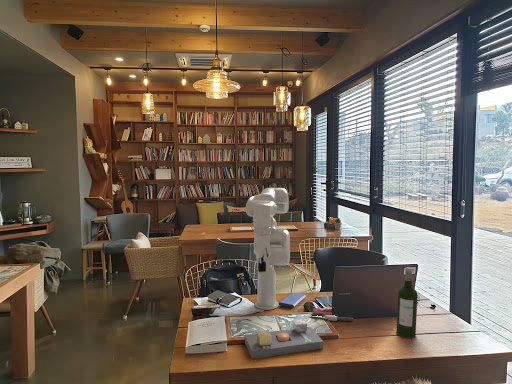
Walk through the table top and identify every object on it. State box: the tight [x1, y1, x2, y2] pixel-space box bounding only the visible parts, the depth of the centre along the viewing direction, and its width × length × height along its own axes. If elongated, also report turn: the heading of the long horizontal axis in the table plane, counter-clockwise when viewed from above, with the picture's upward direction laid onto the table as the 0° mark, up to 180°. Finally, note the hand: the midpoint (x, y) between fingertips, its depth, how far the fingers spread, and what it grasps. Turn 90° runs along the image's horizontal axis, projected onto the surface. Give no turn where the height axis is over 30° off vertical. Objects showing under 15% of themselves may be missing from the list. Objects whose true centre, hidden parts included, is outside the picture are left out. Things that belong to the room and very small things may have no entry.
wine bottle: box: [396, 266, 419, 339], centre depth 152 cm, size 8×8×30 cm
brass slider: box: [256, 330, 272, 346], centre depth 138 cm, size 4×5×4 cm
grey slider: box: [292, 318, 308, 333], centre depth 149 cm, size 4×5×4 cm
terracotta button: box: [277, 333, 289, 342], centre depth 143 cm, size 5×5×3 cm
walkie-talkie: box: [310, 306, 354, 322], centre depth 170 cm, size 9×4×20 cm
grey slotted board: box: [243, 326, 324, 360], centre depth 143 cm, size 13×30×3 cm, turn 105°
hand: (262, 271), depth 154 cm, fingers closed
